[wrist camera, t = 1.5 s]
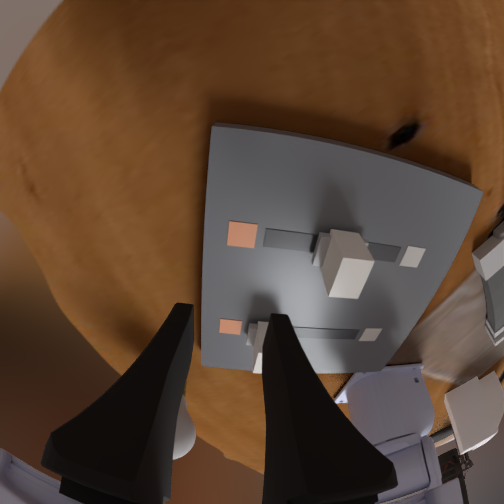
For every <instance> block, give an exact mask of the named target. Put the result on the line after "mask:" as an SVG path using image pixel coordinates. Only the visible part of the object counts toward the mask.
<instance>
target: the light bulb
mask: <svg viewBox="0 0 504 504" xmlns="http://www.w3.org/2000/svg"><path fill="white" fill-rule="evenodd" d="M186 384H187V382H186V383H185V387H184V391H183V395H182V399H181V403H180V407H179V412H178V417H177V424H176V432H175V441H174V451H173V459H177V458H180V457H182V456H184V455H185V454H186V453H188V452H189V451H190V450H191V448H192V447H193V444H194V442H195V437H196V430H195V426H194V423H193V421H192V419H191V417H190V415H189V413H188V410H187V403H186V399H185V393H186Z"/></svg>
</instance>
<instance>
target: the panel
mask: <svg viewBox="0 0 504 504" xmlns="http://www.w3.org/2000/svg"><path fill="white" fill-rule="evenodd" d="M482 195H483V191H482V190H481V189H479V188H478V187H476V186H475V185H474V184H472V183H470V182H467V181H465V180H463V179H460V178H458V177H455V176H452V175H450V174H447V173H445V172H442V171H439V170H436V169H434V168H431V167H428V166H425V165H422V164H419V163H416V162H413V161H410V160H407V159H404V158H400V157H397V156H394V155H390V154H387V153H383V152H380V151H376V150H373V149H369V148H365V147H361V146H357V145H353V144H349V143H345V142H340V141H336V140H331V139H327V138H322V137H317V136H312V135H307V134H301V133H296V132H290V131H284V130H277V129H271V128H264V127H256V126H248V125H240V124H230V123H220V122H215V123H214V124H213V126H212V129H211V140H210V151H209V163H208V176H207V190H206V205H205V222H204V242H203V267H202V307H201V366H209V367H218V368H227V369H237V370H249V371H253V346H251V345H246V338H247V332H248V327H249V323H253V324H258V321H261V322H269V319H270V315H271V313H277V314H287V315H288V316H289V318H290V320H291V323H292V325H293V328H294V330H295V333H296V335H297V337H298V339H299V342H300V344H301V346H302V348H303V350H304V352H305V354H306V356H307V358H308V360H309V361H310V363H311V365H312V367H313V369H314V371H315V372H316V373H360V372H378V371H381V370H382V369H383V368H384V367H385V365H386V364H387V363H388V362H389V360H390V359H391V358H392V356H393V355H394V354H395V353H396V351H397V350H398V348H399V347H400V346H401V344H402V343H403V342H404V340H405V339H406V337H407V336H408V335H409V333H410V332H411V330H412V329H413V327H414V326H415V324H416V323H417V321H418V320H419V318H420V317H421V315H422V314H423V312H424V311H425V309H426V308H427V306H428V304H429V303H430V301H431V299H432V298H433V296H434V295H435V293H436V291H437V289H438V288H439V286H440V284H441V283H442V281H443V279H444V277H445V275H446V274H447V272H448V270H449V268H450V266H451V264H452V262H453V260H454V258H455V256H456V255H457V253H458V251H459V248H460V246H461V244H462V242H463V240H464V238H465V236H466V234H467V232H468V229H469V227H470V225H471V222H472V220H473V218H474V215H475V213H476V211H477V208H478V206H479V203H480V200H481V198H482ZM331 229H335V230H341V231H348V232H355V233H359V234H360V236H361V238H364V239H367V241H368V243H369V244H368V247H367V248H368V250H369V252H370V253H371V255H372V257H373V259H374V261H375V262H374V264H373V267H372V269H371V271H370V273H369V276H368V278H367V280H366V282H365V285H364V287H363V289H362V291H361V293H360V295H359V297H358V299H352V298H338V297H328V294H327V290H326V287H325V283H324V280H323V276H322V273H321V269H320V266H313V265H312V261H311V260H312V257H313V253H314V250H315V247H316V243H317V240H318V236H319V233H320V232H323V233H330V230H331Z"/></svg>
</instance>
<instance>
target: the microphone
mask: <svg viewBox="0 0 504 504" xmlns="http://www.w3.org/2000/svg"><path fill="white" fill-rule="evenodd" d="M453 433H454V431H453V428H452V426H449V427H447V428H445V429H443V430H440V431H439V432H437V433H435V434H433V435H432V436H430V437H432V439H433V442H434V443H435V442H438V441H440V440H442V439H444V438H446V437H448V436H450V435H451V434H453ZM454 437H455V434H454ZM455 440H456V438H455ZM456 444H457V441H456ZM457 447H458V445H457ZM458 451H459V448H458ZM464 455H465V459H466V461H465V460H464V456H463V454H462V455H460V452H459V455H458V452H457V449H456V448H455V449H452V450H450V451H448V452H446V453H443V454H442V455H440V456H438V461H439V465H440V470H441V475H442V478H441V480H442V484H444V483H447V482H449V481H451V480H453V479H455V478H459V483H460V488H461V493H462V499H463V504H469V501H468V496H467V490H466V485H465V481H464V479H465V476H463V471H465V470H467V469H469V468H470V467H472V465H473V463H472V461H471V460H470V459H469V456H468V452H465V453H464ZM459 458H460V459H461V463H460V459H459Z"/></svg>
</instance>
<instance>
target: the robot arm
mask: <svg viewBox="0 0 504 504" xmlns="http://www.w3.org/2000/svg"><path fill="white" fill-rule="evenodd" d="M193 343H194V305H192V304H185V303H176V304H175V305H174V307H173V309H172V310H171V312H170V314H169V315H168V317H167V319H166V320H165V322H164V323H163V325H162V326H161V328H160V329H159V331H158V332H157V333H156V335H155V336H154V337H153V339H152V340H151V342H150V343H149V344H148V346H147V347H146V348H145V349H144V351H143V352H142V353H141V354H140V356H139V357H138V358H137V359H136V361H135V362H134V363H133V364H132V365H131V366H130V367H129V369H128V370H127V371H126V372H125V373H124V374H123V375H122V376H121V377H120V378H119V379H118V380H117V381H116V382H115V383H114V385H112V386H111V387H110V388H109V389H108V390H107V391H106V392H105V393H104V394H103V395H102V396H100V397H99V398H98V399H97V400H96V401H95V402H93V403H92V404H91V405H90V406H89V407H87V408H86V409H84V411H82V412H81V413H79V414H78V415H77V416H75V417H74V418H72V419H71V420H69V421H68V422H66V423H65V424H63V425H62V426H60V427H59V428H58V429H56V430H54V431H53V432H51V434H50V437H49V439H48V441H47V443H46V445H45V449H44V452H43V456H42V460H41V465H42V466H43V467H45V468H47V469H48V470H50V471H52V472H54V473H56V474H58V475H60V476H62V480H61V482H60V481H58V480H56V479H54V478H51V477H49V476H47V475H45V474H43V473H42V472H40V471H38V470H36V469H34V468H32V467H31V466H30V465H28V464H26V463H25V462H23V461H21V460H19V459H18V458H16V457H15V456H13V455H11V454H10V453H8V452H7V451H5V450H3V449H1V448H0V504H164V503H166V502H167V501H169V500H170V497H171V494H170V493H171V476H172V462H173V451H174V441H175V432H176V424H177V417H178V412H179V407H180V403H181V399H182V395H183V391H184V387H185V383H186V379H187V375H188V371H189V367H190V363H191V357H192V350H193ZM423 367H424V365H423V364H422V363H419V364H409V365H397V366H385V367H384V368H383V369H382V370H381V371H378V372H360V373H354V374H353V376H352V377H351V378H350V380H349V381H348V382H347V383H346V385H345V386H344V387H343V389H342V390H341V391H340V393H339V394H338V395H337V396H336V398H335V399H334V400H333V399H332V397H331V396H330V395H329V393H328V392H327V390H326V389H325V387H324V386H323V384H322V382H321V381H320V379H319V377H318V376H317V374H316V372H315V371H314V369H313V367H312V365H311V363H310V361H309V360H308V358H307V356H306V354H305V352H304V350H303V348H302V346H301V344H300V342H299V339H298V337H297V335H296V333H295V330H294V328H293V325H292V323H291V320H290V318H289V316H288V315H287V314H277V313H271V315H270V319H269V323H268V327H267V331H266V334H265V338H264V342H263V346H262V379H263V391H264V403H265V414H266V451H265V471H264V486H263V499H262V504H379V503H383V502H386V501H390V500H393V499H396V498H399V497H403V496H405V495H408V494H411V493H414V492H417V491H420V490H422V489H424V488H427V487H428V488H427V489H426V490H425V491H423V492H421V493H419V494H416V495H413V496H411V497H408V498H405V499H401V500H399V501H395V502H392V503H389V504H463V499H462V493H461V488H460V483H459V478H455V479H453V480H451V481H449V482H447V483H444V484H442V480H441V478H442V475H441V470H440V465H439V461H438V456H437V453H436V449H435V445H434V442H433V439H432V437H429V436H427V434H428V433H429V432H430V430H431V429H432V427H433V423H434V407H433V404H432V401H431V398H430V395H429V392H428V389H427V387H426V384H425V381H424V378H423V376H422V373H421V371H420V370H421V369H422V368H423ZM336 403H348V409H349V414H350V419H351V422H350V421H349V419H348V418H347V417H346V416H345V415H344V413H343V412H342V411H341V410H340V408H339V407H338V406H337V404H336Z"/></svg>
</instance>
